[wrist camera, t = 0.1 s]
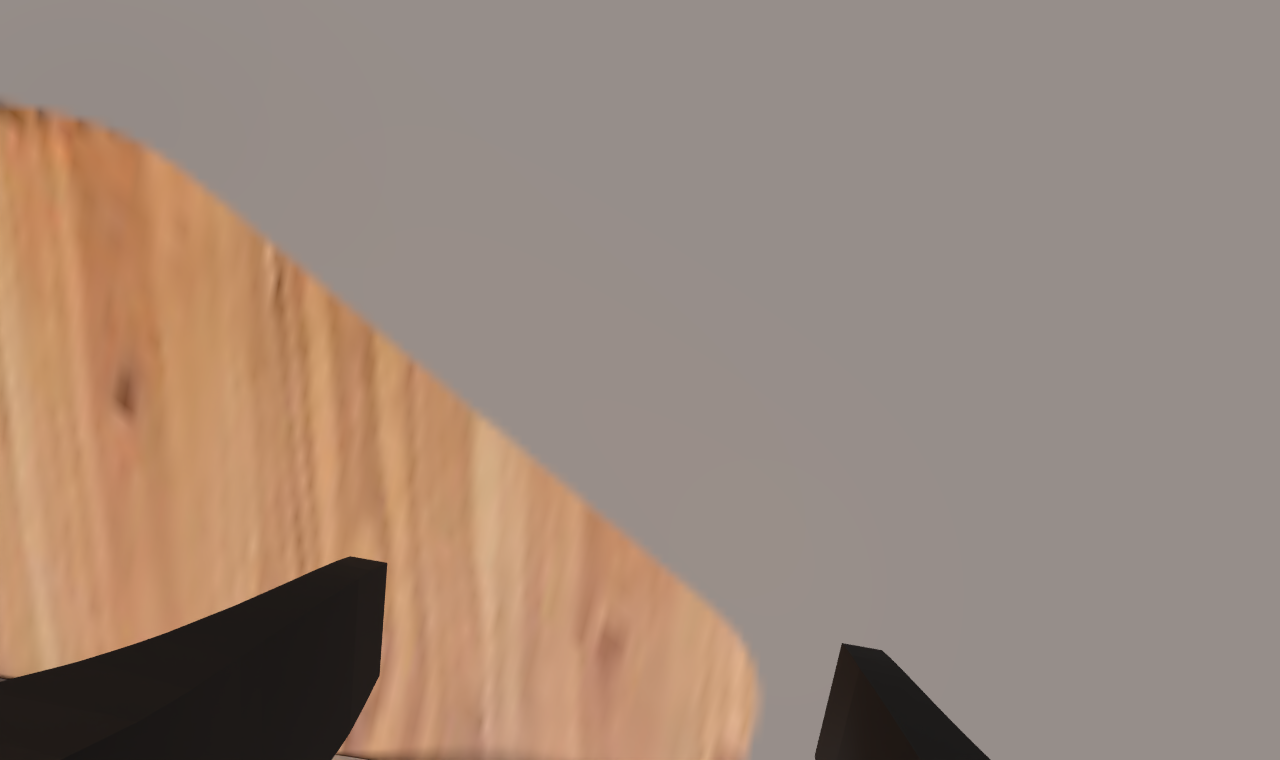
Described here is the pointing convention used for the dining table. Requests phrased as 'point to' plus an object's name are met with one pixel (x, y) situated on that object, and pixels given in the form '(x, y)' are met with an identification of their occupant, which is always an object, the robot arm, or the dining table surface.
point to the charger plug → (345, 758)
